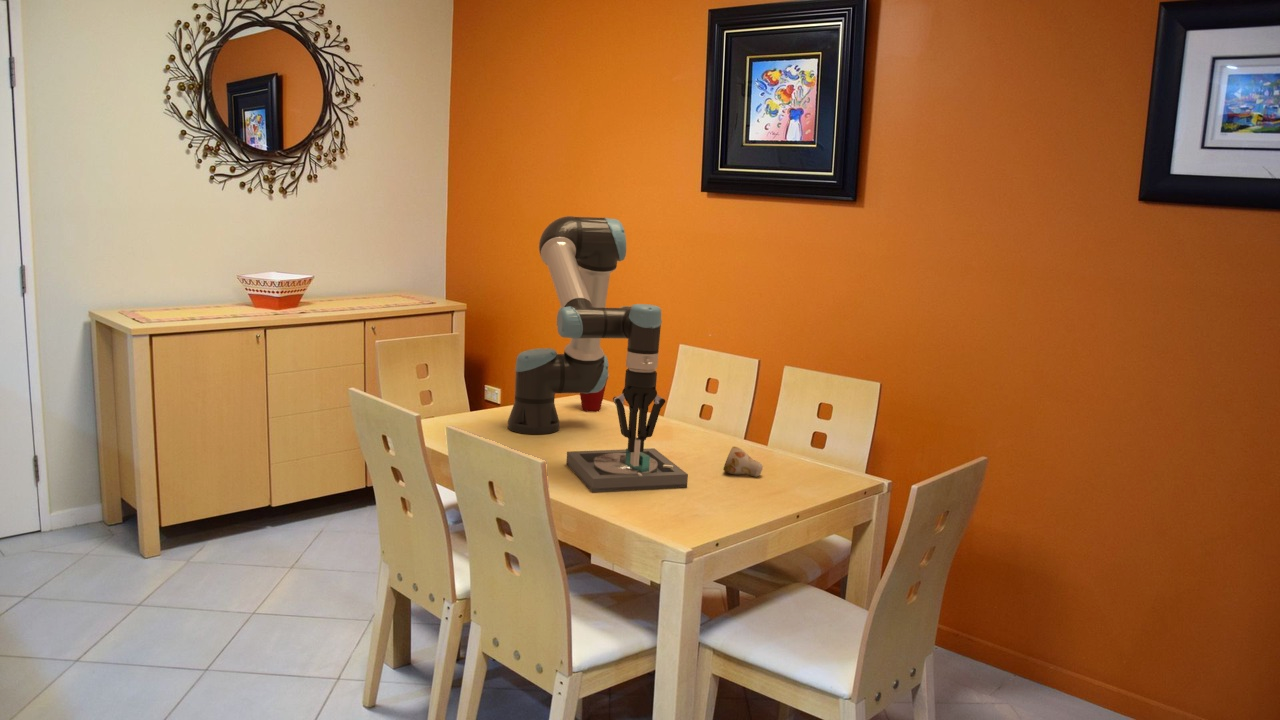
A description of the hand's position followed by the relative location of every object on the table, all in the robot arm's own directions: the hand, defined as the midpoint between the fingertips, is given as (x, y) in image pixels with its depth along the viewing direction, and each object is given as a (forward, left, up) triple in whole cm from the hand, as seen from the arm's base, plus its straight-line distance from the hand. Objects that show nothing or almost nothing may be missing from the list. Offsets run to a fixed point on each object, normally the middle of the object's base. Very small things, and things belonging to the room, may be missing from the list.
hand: (634, 464), depth 235 cm
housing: (-8, 0, -5) cm, 9 cm away
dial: (-7, +1, -4) cm, 8 cm away
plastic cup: (-80, +12, -5) cm, 81 cm away
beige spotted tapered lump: (-4, +31, -5) cm, 32 cm away
